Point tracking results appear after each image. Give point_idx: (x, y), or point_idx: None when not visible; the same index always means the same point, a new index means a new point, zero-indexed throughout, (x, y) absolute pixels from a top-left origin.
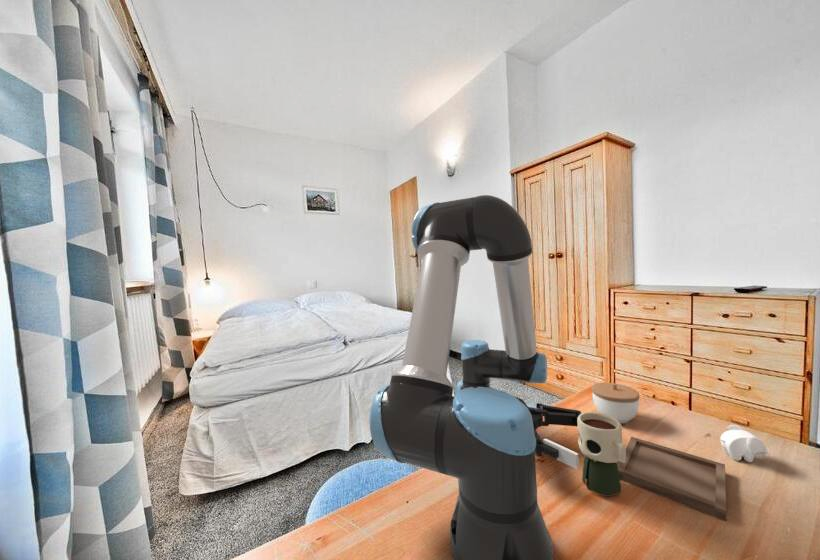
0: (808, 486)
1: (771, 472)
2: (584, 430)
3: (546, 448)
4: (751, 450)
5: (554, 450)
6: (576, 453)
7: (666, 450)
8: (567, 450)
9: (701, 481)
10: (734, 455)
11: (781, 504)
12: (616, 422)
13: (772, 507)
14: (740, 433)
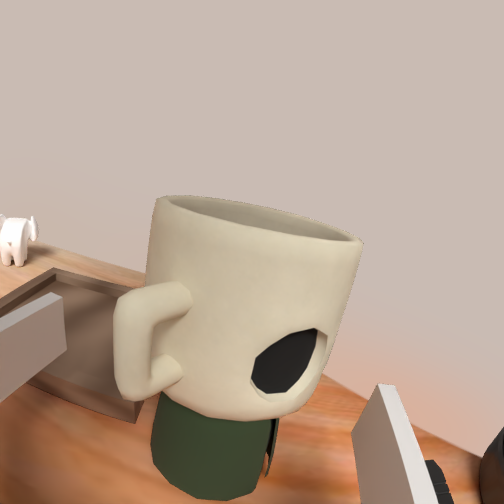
0: (67, 251)
1: (45, 257)
2: (353, 278)
3: (450, 499)
4: (37, 236)
5: (430, 468)
6: (383, 388)
7: (13, 301)
8: (402, 413)
9: (99, 301)
10: (22, 258)
11: (109, 273)
12: (215, 204)
13: (119, 279)
14: (15, 221)
